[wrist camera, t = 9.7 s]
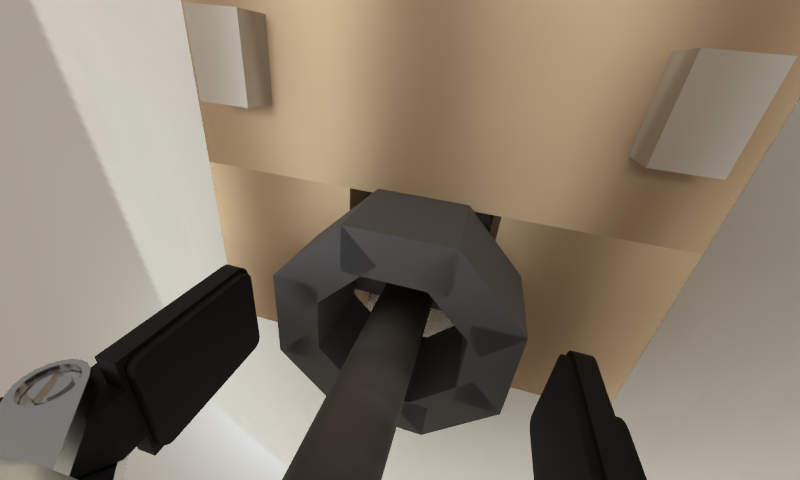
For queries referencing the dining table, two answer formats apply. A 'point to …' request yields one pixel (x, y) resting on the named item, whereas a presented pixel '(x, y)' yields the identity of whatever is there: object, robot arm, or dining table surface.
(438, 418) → the faceted grey ring
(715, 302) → the dining table surface
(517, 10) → the toggle switch panel
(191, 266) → the dining table surface
